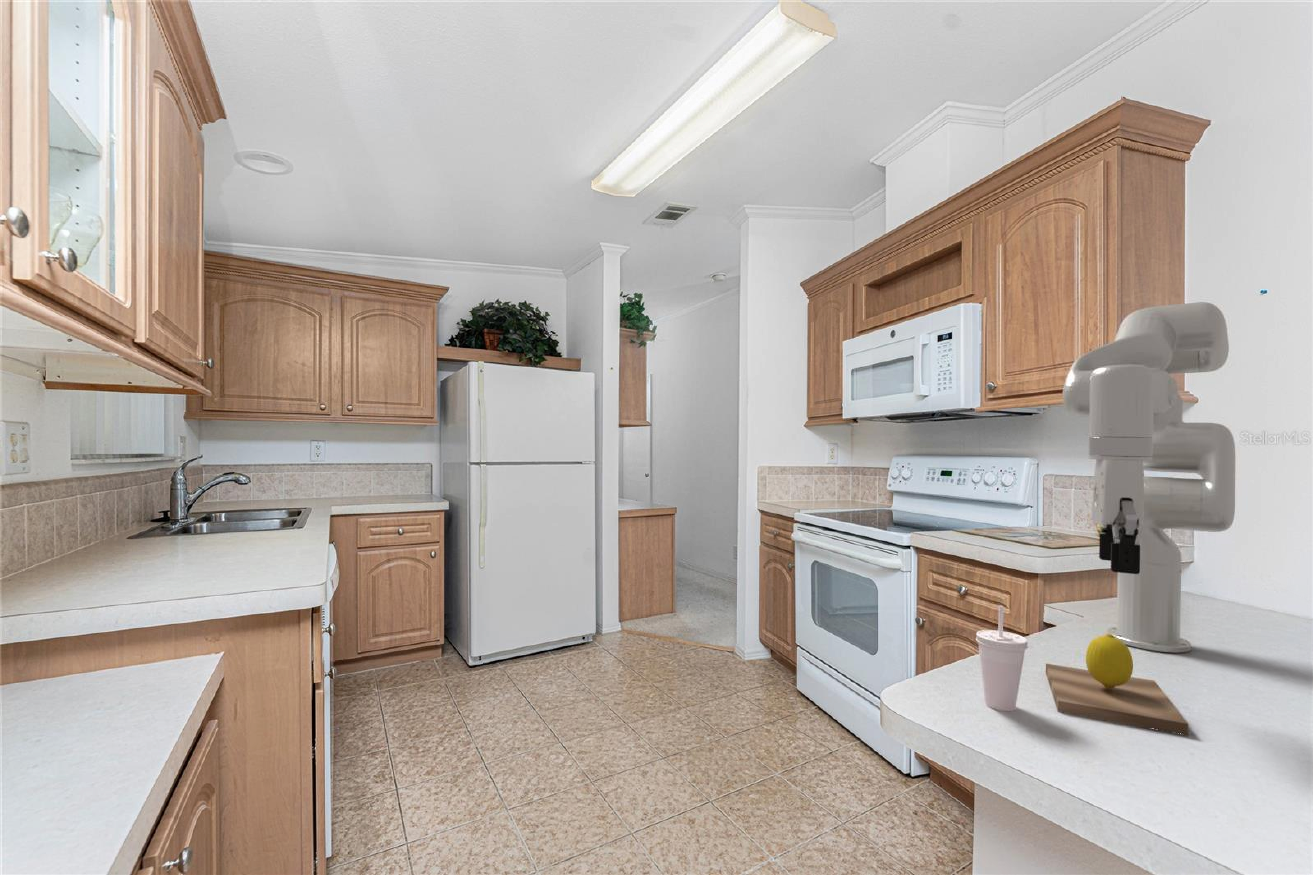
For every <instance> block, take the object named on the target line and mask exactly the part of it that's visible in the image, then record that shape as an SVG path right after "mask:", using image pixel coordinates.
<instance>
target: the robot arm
mask: <svg viewBox="0 0 1313 875" xmlns="http://www.w3.org/2000/svg"><path fill="white" fill-rule="evenodd" d="M1224 316H1225V315H1224V314H1223V312H1222V311H1221V309H1220V308H1219V307H1218V306H1217V305H1215V304H1214V303H1212V302H1211V303H1210V302H1204V301H1200V302H1199V301H1196V302H1189V303H1180V304H1179V303H1177V304H1171V305H1159V306H1151V307H1145V308H1142V309H1141V308H1140V309H1137V310H1135V311H1133V312H1131V313H1129V314H1128V315H1127V316H1126V317H1124V319H1123V320H1122V322H1121V323H1120V325H1119V326H1118V330H1117V333H1116V335H1115V338H1114V341H1110V342H1109V343H1106V344H1104V345H1102V346H1100V347H1097V348H1095V349H1092V350H1089V351H1088V352H1086V353H1084V354H1082V355H1081V356H1079V357H1078V358H1077V359H1076V360H1075V361H1074V362H1073V363H1072V365H1071V367H1070V368H1069V371H1068V373H1067V375H1066V378H1065V381H1064V383H1063V388H1062V402H1063V406H1064V408H1065V409H1066V411H1067V412H1068V413H1069V414H1071V415H1073V416H1075V417H1079V418H1089V419H1088V420H1089V421H1088V422H1089V423H1088V424H1089V426H1088V427H1089V428H1088V430H1089V431H1088V459H1089V460H1095V465H1094V475H1093V490H1092V491H1093V494H1092V510H1091V519H1092V521H1093V522H1094V523H1096V524H1097V525H1098V526H1100V533H1099V539H1098V540H1099V543H1098V544H1099V546H1098V547H1099V551H1098V552H1099V553H1098V558H1099V559H1100V560H1101V561H1110V570H1111V571H1112V572H1113V573H1117V582H1116V583H1117V584H1116V585H1117V586H1116V587H1117V592H1116V593H1117V594H1116V595H1117V597H1116V626H1113V627H1108V628H1107V629H1106V634H1112V635H1113V636H1114V637H1115V638H1117V639H1119V640H1120V641H1122V642H1123V643H1124V644H1125V645H1126V646H1130V647H1134V648H1138V649H1143V650H1149V651H1154V652H1162V653H1180V654H1181V653H1187V652H1190V651H1191V649H1192V644H1191V642H1190V641H1188V640H1187V639H1185V638H1183V637H1181V616H1182V615H1181V613H1182V605H1181V604H1182V603H1181V601H1182V560H1183V559H1182V553H1181V550H1180V548H1179V546H1178V545H1177V544H1176V543H1175V541H1173V539H1172V538H1171V537H1170V536H1169V535H1168V534H1167V533H1166V532H1165V531H1164V530H1165V529H1167V530H1172V529H1173V530H1181V531H1183V530H1184V531H1194V532H1195V531H1196V532H1211V533H1212V532H1213V533H1214V532H1215V533H1219V532H1220V533H1221V532H1225V531H1227V530H1229V529H1230V528H1231V527H1232V525H1233V523H1234V519H1235V514H1236V512H1235V511H1236V443H1235V439H1234V435H1233V434H1232V432H1231V429H1229V428H1228V427H1227V426H1225V425H1223V424H1221V423H1215V422H1184V420H1183V413H1184V412H1183V410H1184V409H1183V408H1184V399H1183V398H1182V396H1181V395H1180V394H1179V391H1178V383H1177V382H1176V379H1175V378H1174V377H1172V374H1193V373H1194V374H1195V373H1209V372H1214V371H1217V370H1219V369H1221V368H1222V367H1224V365H1225V364H1226V362H1227V360H1228V357H1229V350H1230V348H1229V347H1230V345H1229V337H1228V336H1229V335H1228V326H1227V321H1226V319H1225V317H1224ZM1144 471H1147V472H1160V473H1161V472H1162V473H1181V474H1182V473H1183V474H1185V473H1187V474H1196V475H1199V476H1201V478H1188V477H1187V478H1185V477H1184V478H1180V477H1171V476H1170V477H1169V476H1168V477H1167V476H1147V475H1146V476H1145V472H1144Z"/></svg>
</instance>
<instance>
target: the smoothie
mask: <svg viewBox="0 0 1313 875" xmlns="http://www.w3.org/2000/svg"><path fill="white" fill-rule="evenodd" d="M997 623H998V624H997V625H998V628H997V630H996V629H983V630H978V631H977V632H976V634H975V636H976V637H975V641H976V642H977V643H978V649H979V659H980V668H981V678H982V686H983V694H984V697H983V698H984V703H985V705H986V706H987V705H988V706H987V707H988V708H991V709H994V710H997V711H1001V712H1014V711H1015V710H1016V706H1017V700H1018V695H1019V689H1020V681H1021V676H1022V670H1023V664H1024V658H1025V651H1026V650H1027V649H1029V646H1028V639H1027V638H1026V637H1024V636H1022V635H1020V634H1017V633H1013V632H1009V631H1004V606H1003V605H998V622H997Z"/></svg>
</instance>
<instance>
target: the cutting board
mask: <svg viewBox="0 0 1313 875" xmlns="http://www.w3.org/2000/svg"><path fill="white" fill-rule="evenodd" d="M1045 675H1046V679H1047V680H1048V685H1049V688H1050V691H1051V695H1052V697H1053V700H1054V701H1053V702H1054V703H1055V708H1056V710H1057V712H1058V713H1064V714H1069V715H1074V716H1075V715H1076V716H1080V717H1085V718H1091V719H1097V720H1101V721H1102V720H1103V721H1106V722H1107V721H1108V722H1113V723H1118V724H1123V725H1128V726H1133V727H1138V728H1139V727H1140V728H1144V727H1145V729H1149V728H1154V729H1158V730H1157V731H1159V730H1163V731H1162V732H1165V731H1167V732H1166V733H1170V732H1175V733H1179V734H1178V735H1181V734H1183V735H1182V736H1186V735H1188V736H1189V723H1188V722H1187V720H1186V719H1185V718H1184V716H1183V714H1181V713H1180V711H1179V710H1178V708H1176V706H1175V705H1174V703H1173V702H1172V701H1171V700H1170V699H1169V697H1168V696H1167V694H1165V692H1164V691H1163V689H1162V688H1161V687H1160V686H1159V685H1158V683H1157V682H1156V680H1153V679H1147V678H1141V677H1133V676H1131V677H1130V679H1129V680H1128V681H1127V682H1126V683H1125V684H1123V685H1120V686H1115V687H1114V688H1112V689H1106V688H1105V687H1104V685H1103V684H1102V683H1100V682H1098V681H1097V680H1095V679H1094V678H1093V677H1092V675H1091V674H1090V672H1089V671H1088V669H1083V668H1078V667H1071V666H1064V665H1059V664H1058V665H1057V664H1053V663H1052V664H1051V663H1045ZM1154 729H1153V730H1154ZM1175 733H1174V734H1175ZM1180 733H1181V734H1180Z"/></svg>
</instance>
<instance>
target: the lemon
mask: <svg viewBox="0 0 1313 875" xmlns="http://www.w3.org/2000/svg"><path fill="white" fill-rule="evenodd" d="M1085 654H1086V655H1085V664H1086V668H1087V670H1088V671H1089V672H1090V674H1091V675H1092V677H1093V678H1094V679H1095V680H1097V681H1098V682H1100V683H1102V684H1103V685H1104V687H1105V688H1106V689H1112V688H1114V687H1115V686H1120V685H1123V684H1125V683H1126V682H1127V681H1128V680H1129V679H1130V677H1132V675H1133V672H1134V662H1133V661H1134V660H1133V657H1132V653H1131V650H1130V648H1128V645H1126V644H1124V643H1123V642H1122V641H1120V640H1119V639H1117V638H1115V637H1114V636H1113V635H1112V634H1107V633H1106V634H1105V635H1101V636H1097V637H1095V638H1094V639H1092V640H1090V642H1089V645H1088V646H1087V649H1086V653H1085Z"/></svg>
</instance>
